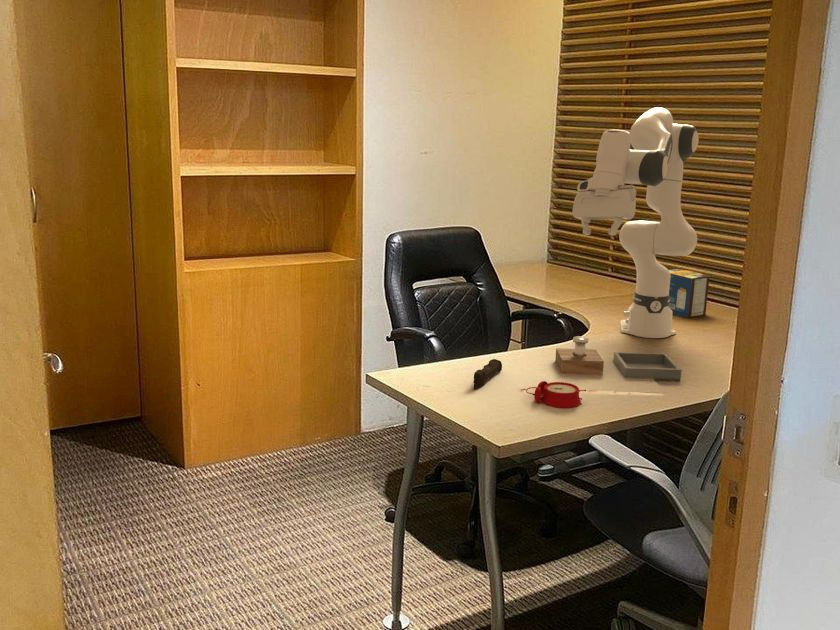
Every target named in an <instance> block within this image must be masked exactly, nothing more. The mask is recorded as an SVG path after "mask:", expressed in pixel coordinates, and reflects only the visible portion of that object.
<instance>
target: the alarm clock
mask: <svg viewBox="0 0 840 630" xmlns="http://www.w3.org/2000/svg"><path fill="white" fill-rule="evenodd" d="M529 389H534V393H533V392H529V391H528V390H529ZM583 391H584V392H586V391H587V389H580V388H579V387H578V385H576V384H574V383H573V384H572V383H568V382H564V381H563V382H562V381H556V382H555V381H552V382H548V381H545V380H541V381H540V382H538V384H537V386H534V387H533V386H532V387H531V386H530V387H528V388H526V389H525V393H526V394H530V395H531V396H533V397H534V401H535V403H537V404H541V403H542V404H545V405H546V406H550V407H554V408H560V409H561V408H563V409H570V408H575V407H578V406H579V405H582V404H583V403H582V400H583V398H582V397H580V392H583Z"/></svg>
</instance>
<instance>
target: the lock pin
mask: <svg viewBox="0 0 840 630" xmlns="http://www.w3.org/2000/svg"><path fill="white" fill-rule="evenodd" d="M572 342H573V343H574V349H575V352H574V356H583V357H584V356H585V349H586V344H588V343H589V338H588V337H587V336H580V335H577V336H573V338H572Z"/></svg>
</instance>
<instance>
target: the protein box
mask: <svg viewBox="0 0 840 630" xmlns="http://www.w3.org/2000/svg"><path fill="white" fill-rule="evenodd" d="M668 270H669V272H670V275H671V278H670V288H669V295H670V302H669V306H668V307H669V308H670V309H671V310H672V315H676V316H679V317H684V318H689V319H690V318H694V317H700V316H706V313H707V304H708V294H709V287H710V285H709V284H710V277H711V276H710V275H709V274H705V273H700V272H695V271H691V270H685V269H681V268H674V269H668Z"/></svg>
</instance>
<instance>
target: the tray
mask: <svg viewBox="0 0 840 630" xmlns="http://www.w3.org/2000/svg"><path fill="white" fill-rule="evenodd" d="M612 357H613V359H612V361H613V363H614V364H615V366H616V367H617V368H618V370H619V371H620V372H621V374H622V375H623V378H629V379H630V378H633V379H636V378H637V379H640V378H641V379H653V380H654V381H656V382H681V378H682V377H681V376H682V371H683V370H682V369H681V368H680V367H679V365H678V364H677V363H676V362H675V361H674V360H673V359H672V358H671V357H670V356H669V354H667V353H664V352H663V353H655V352H627V351H625V352H622V351H620V352H619V351H613V356H612Z"/></svg>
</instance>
